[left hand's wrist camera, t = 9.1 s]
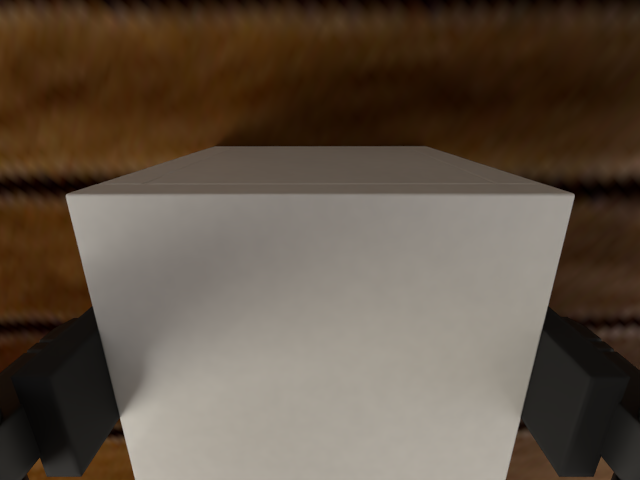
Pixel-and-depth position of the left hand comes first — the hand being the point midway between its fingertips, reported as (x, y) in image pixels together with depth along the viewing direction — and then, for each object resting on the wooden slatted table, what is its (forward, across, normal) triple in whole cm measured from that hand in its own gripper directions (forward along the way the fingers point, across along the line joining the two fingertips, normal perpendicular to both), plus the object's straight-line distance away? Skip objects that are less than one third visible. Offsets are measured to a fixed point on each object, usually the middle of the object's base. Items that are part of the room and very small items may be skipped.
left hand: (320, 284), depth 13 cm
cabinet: (+6, 0, -6) cm, 8 cm away
